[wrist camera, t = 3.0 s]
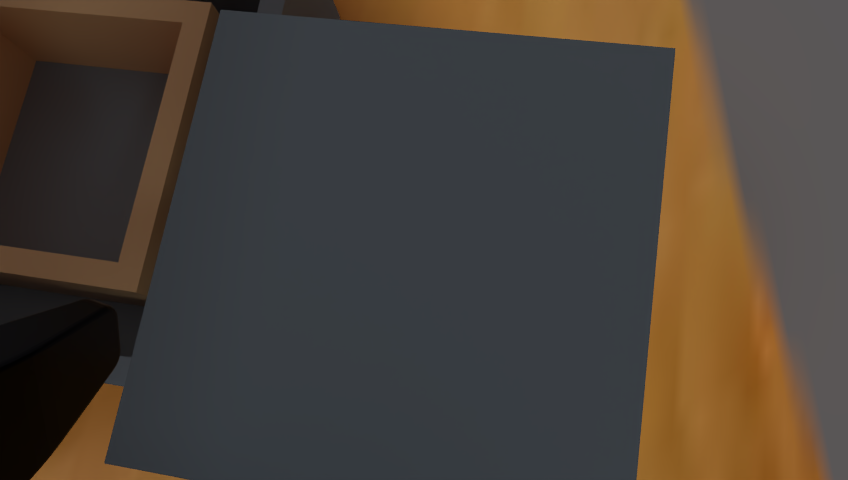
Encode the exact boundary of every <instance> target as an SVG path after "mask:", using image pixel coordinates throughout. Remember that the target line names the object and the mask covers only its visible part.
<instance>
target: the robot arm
mask: <svg viewBox="0 0 848 480" xmlns="http://www.w3.org/2000/svg"><path fill="white" fill-rule="evenodd" d="M120 352H121V347H120V337H119V326H118V316H117V312H116V311H115V309H114V308H113V307H112V306H110V305H107V304H104V303H101V302H99V301H96V300H93V299H82V300H78V301H75V302H72V303H68V304H65V305H62V306H59V307H56V308H52V309H49V310H46V311H43V312H39V313H36V314H33V315H30V316H26V317H23V318H20V319H17V320H14V321H10V322H7V323H4V324H1V325H0V480H30V479H31V478H32V477H33V476H34V475H35V473H36V472H37V471H38V470H39V469H40V468H41V467H42V465H43V464H44V463H45V462H46V461H47V459H48V458H49V457H50V456H51V455H52V453H53V452H54V451H55V450H56V448H57V447H58V446H59V444H60V443H61V442H62V440H63V439H64V438H65V436H66V435H67V434H68V432H69V431H70V429H71V428H72V427H73V425H74V424H75V422H76V421H77V420H78V418H79V417H80V416H81V414H82V413H83V411H84V410H85V409H86V407H87V406H88V405H89V403H90V402H91V400H92V399H93V398H94V396H95V395H96V393H97V392H98V391H99V389H100V388H101V387H102V385H103V384H104V382H105V381H106V380H107V378H108V377H109V376H110V374H111V373H112V371H113V370H114V368H115V367H116V365H117V363H118V361H119V358H120Z"/></svg>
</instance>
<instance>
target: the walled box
mask: <svg viewBox="0 0 848 480" xmlns="http://www.w3.org/2000/svg"><path fill="white" fill-rule="evenodd" d="M220 10H231V11H242V12H254V13H266V14H277V15H289V16H301V17H313V18H324V19H336V20H340V16H339V13H338V11H337V9H336V6H335V4H334V1H333V0H0V325H1V324H4V323H7V322H10V321H14V320H17V319H20V318H23V317H26V316H30V315H33V314H36V313H39V312H43V311H46V310H49V309H52V308H56V307H59V306H62V305H65V304H68V303H72V302H75V301H78V300H82V299H93V300H96V301H99V302H101V303H104V304H107V305H110V306H112V307H113V308H114V309H115V311H116V312H117V316H118V326H119V337H120V347H121V352H120V358H119V361H118V363H117V365H116V367H115V368H114V370H113V371H112V373H111V374H110V376H109V377H108V378H107V380H106V381H105V382H104V383H107V384H113V385H119V386H124V385H125V381H126V377H127V373H128V369H129V365H130V361H131V357H132V354H133V350H134V346H135V342H136V338H137V334H138V330H139V326H140V322H141V318H142V315H143V311H144V307H145V303H146V299H147V295H148V291H149V287H150V283H151V279H152V276H153V272H154V268H155V264H156V260H157V256H158V252H159V248H160V244H161V240H162V236H163V233H164V229H165V225H166V221H167V217H168V213H169V209H170V205H171V201H172V197H173V194H174V190H175V186H176V182H177V178H178V174H179V170H180V166H181V162H182V158H183V155H184V151H185V147H186V143H187V139H188V135H189V131H190V127H191V123H192V119H193V116H194V112H195V108H196V104H197V100H198V96H199V92H200V88H201V84H202V80H203V77H204V73H205V69H206V65H207V61H208V57H209V53H210V49H211V45H212V41H213V38H214V34H215V30H216V26H217V22H218V18H219V14H220Z"/></svg>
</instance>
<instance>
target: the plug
mask: <svg viewBox="0 0 848 480" xmlns="http://www.w3.org/2000/svg"><path fill="white" fill-rule="evenodd" d="M674 57H675V48H664V47H652V46H640V45H629V44H617V43H605V42H594V41H582V40H570V39H558V38H547V37H535V36H523V35H512V34H500V33H488V32H476V31H465V30H453V29H441V28H430V27H418V26H406V25H395V24H383V23H371V22H359V21H348V20H336V19H324V18H313V17H301V16H289V15H277V14H266V13H254V12H242V11H231V10H220V14H219V18H218V22H217V26H216V30H215V34H214V38H213V41H212V45H211V49H210V53H209V57H208V61H207V65H206V69H205V73H204V77H203V80H202V84H201V88H200V92H199V96H198V100H197V104H196V108H195V112H194V116H193V119H192V123H191V127H190V131H189V135H188V139H187V143H186V147H185V151H184V155H183V158H182V162H181V166H180V170H179V174H178V178H177V182H176V186H175V190H174V194H173V197H172V201H171V205H170V209H169V213H168V217H167V221H166V225H165V229H164V233H163V236H162V240H161V244H160V248H159V252H158V256H157V260H156V264H155V268H154V272H153V276H152V279H151V283H150V287H149V291H148V295H147V299H146V303H145V307H144V311H143V315H142V318H141V322H140V326H139V330H138V334H137V338H136V342H135V346H134V350H133V354H132V357H131V361H130V365H129V369H128V373H127V377H126V381H125V385H124V389H123V393H122V396H121V400H120V404H119V408H118V412H117V416H116V420H115V424H114V428H113V432H112V435H111V439H110V443H109V447H108V451H107V455H106V459H105V464H111V465H116V466H121V467H126V468H132V469H137V470H142V471H147V472H153V473H158V474H163V475H168V476H174V477H179V478H184V479H189V480H636V477H637V466H638V455H639V444H640V433H641V422H642V411H643V400H644V389H645V378H646V367H647V356H648V345H649V334H650V322H651V311H652V300H653V289H654V278H655V267H656V256H657V245H658V234H659V223H660V212H661V201H662V190H663V179H664V168H665V157H666V146H667V135H668V124H669V112H670V101H671V90H672V79H673V68H674Z"/></svg>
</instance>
